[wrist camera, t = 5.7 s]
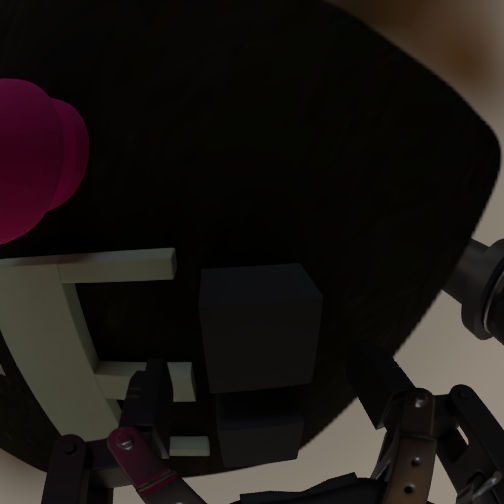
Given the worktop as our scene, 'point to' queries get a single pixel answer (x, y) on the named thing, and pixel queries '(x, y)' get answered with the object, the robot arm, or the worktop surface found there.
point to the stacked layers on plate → (1, 370)
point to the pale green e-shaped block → (80, 340)
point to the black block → (259, 426)
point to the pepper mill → (36, 155)
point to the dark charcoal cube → (259, 326)
